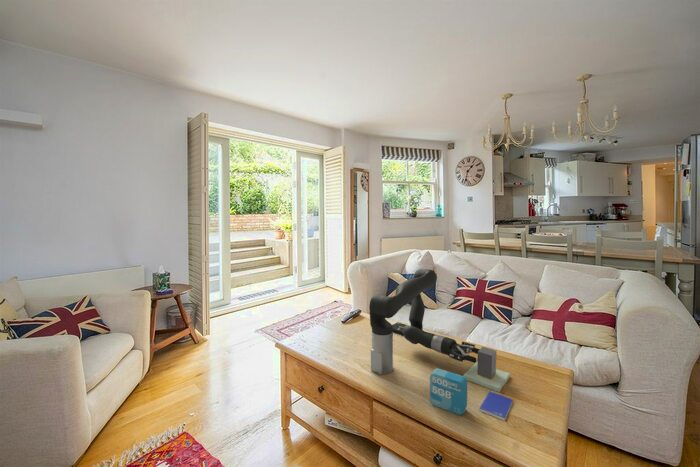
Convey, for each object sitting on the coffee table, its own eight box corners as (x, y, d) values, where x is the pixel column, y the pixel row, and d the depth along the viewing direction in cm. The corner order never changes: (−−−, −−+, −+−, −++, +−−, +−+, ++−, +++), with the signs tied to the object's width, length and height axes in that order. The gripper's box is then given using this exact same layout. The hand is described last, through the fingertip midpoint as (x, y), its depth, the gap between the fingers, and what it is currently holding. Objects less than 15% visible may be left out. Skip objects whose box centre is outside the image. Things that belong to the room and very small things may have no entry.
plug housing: (491, 379, 121) (492, 355, 120) (477, 374, 125) (477, 351, 124) (495, 373, 125) (496, 350, 125) (482, 369, 129) (482, 346, 128)
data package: (429, 403, 109) (429, 372, 108) (434, 397, 113) (434, 367, 112) (463, 416, 102) (463, 383, 101) (467, 409, 106) (467, 377, 105)
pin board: (499, 392, 115) (499, 383, 115) (463, 378, 125) (463, 370, 125) (509, 376, 126) (509, 368, 125) (475, 365, 135) (475, 357, 135)
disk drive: (387, 331, 175) (408, 338, 165) (387, 326, 175) (408, 333, 165) (397, 326, 183) (419, 332, 172) (397, 321, 182) (418, 328, 172)
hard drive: (504, 417, 100) (512, 399, 110) (479, 407, 105) (489, 390, 115) (504, 422, 100) (512, 403, 110) (479, 411, 105) (488, 394, 115)
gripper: (436, 342, 132) (473, 354, 121) (450, 332, 142) (486, 342, 131) (436, 358, 133) (473, 372, 121) (450, 347, 143) (485, 358, 132)
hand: (479, 356), depth 126 cm, fingers open, 8 cm apart
